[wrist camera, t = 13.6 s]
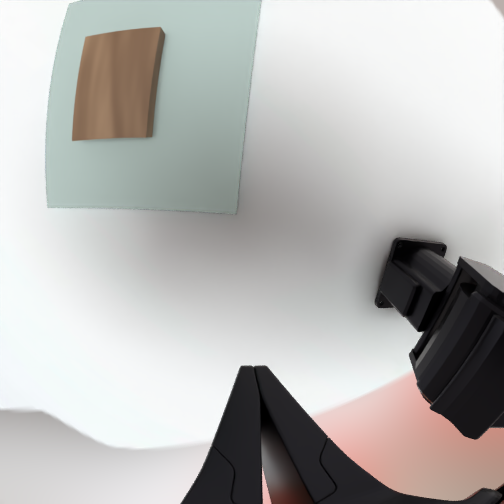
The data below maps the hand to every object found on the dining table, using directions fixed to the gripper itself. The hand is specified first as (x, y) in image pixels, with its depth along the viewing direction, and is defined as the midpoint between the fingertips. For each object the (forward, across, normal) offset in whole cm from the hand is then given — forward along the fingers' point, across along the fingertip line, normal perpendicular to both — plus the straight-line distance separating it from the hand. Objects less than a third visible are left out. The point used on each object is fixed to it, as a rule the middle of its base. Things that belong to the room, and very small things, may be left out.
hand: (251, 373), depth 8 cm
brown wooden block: (+10, +6, -10) cm, 16 cm away
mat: (+12, +7, -10) cm, 17 cm away
